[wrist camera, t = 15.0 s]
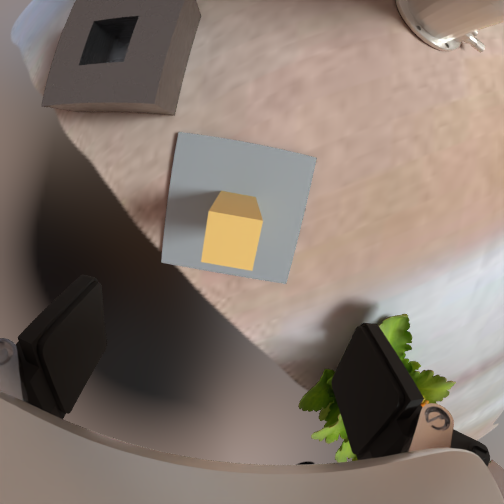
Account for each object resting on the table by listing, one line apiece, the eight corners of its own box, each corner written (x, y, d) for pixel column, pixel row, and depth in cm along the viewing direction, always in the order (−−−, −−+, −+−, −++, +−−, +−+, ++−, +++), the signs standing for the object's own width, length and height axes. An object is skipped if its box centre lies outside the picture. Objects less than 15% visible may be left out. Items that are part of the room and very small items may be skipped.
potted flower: (440, 354, 43) (484, 412, 26) (352, 425, 48) (374, 489, 32) (381, 285, 37) (447, 362, 20) (269, 384, 42) (279, 475, 26)
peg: (255, 197, 32) (263, 220, 20) (248, 230, 33) (252, 270, 22) (221, 190, 31) (208, 211, 20) (215, 224, 33) (200, 261, 21)
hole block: (201, 16, 24) (191, -16, 17) (174, 115, 29) (154, 104, 21) (103, 20, 23) (76, -2, 15) (77, 111, 27) (41, 106, 20)
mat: (315, 157, 31) (316, 157, 30) (285, 281, 36) (286, 283, 35) (179, 132, 29) (178, 132, 29) (162, 260, 34) (161, 262, 34)
